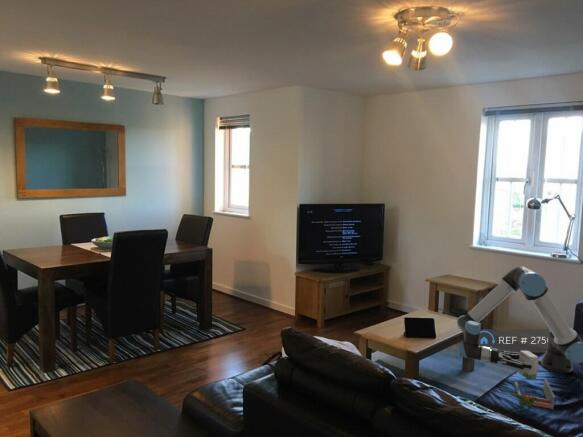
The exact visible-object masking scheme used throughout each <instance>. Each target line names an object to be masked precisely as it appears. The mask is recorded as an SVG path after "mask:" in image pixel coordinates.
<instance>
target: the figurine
mask: <svg viewBox="0 0 583 437" xmlns="http://www.w3.org/2000/svg"><path fill="white" fill-rule="evenodd" d="M522 392H523V393H522V394H519V395H517V394H515V393H509V395H510V396H513V397H515V398H517V399H518V398H519V399H520V403H519V408H521V409H523V408H524V405H526V408H527V409H528V410H529V411H531V408H530V407H531V406H533V405H534V404H535V401H537V402H538V400H537V398H538V397H537V396H535V395H533V394H532V395H530V394H529V395H527V396H525V395H526V394H525V390H524V389H523V390H522ZM528 396H529V397H530V396H532V398H533V397H534V398H533V399H532V400H531V399H530V398H529V397H528ZM536 397H537V398H536ZM519 399H518V400H519ZM534 407H536V406H535V405H534Z"/></svg>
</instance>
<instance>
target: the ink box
mask: <svg viewBox="0 0 583 437" xmlns="http://www.w3.org/2000/svg"><path fill="white" fill-rule="evenodd" d="M519 353H520V356H519V359H518V361H520V362H523V363H525V362H526V363H531V364H537V365H539V356H538V355H536V354H534V353H532V352H531V351H530V350H520V351H519ZM517 373H518V374H520V375H521V376H523V377H524V378H525V379H527V380H537V376H538V375H537V374H538V371H537V370H532V369H527V368H524V370H522V369H518V368H517Z"/></svg>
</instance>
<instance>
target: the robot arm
mask: <svg viewBox="0 0 583 437" xmlns="http://www.w3.org/2000/svg"><path fill="white" fill-rule="evenodd" d="M517 291H521V294H522V295H523V297H524V298H525V299H526V300H527V301H530V302H531V303H532V304H533V306H534V307H535V309H536V310H537V313H538V314H539V315H540V317H541V318H542V320H543V321H544V323H545V325H546V326H547V327H548V329H549V330H548V337H547V341H546V342H547V344H546V351H545V353H544V354H543V357H542V358H541V361H540V364H541V366H542V367H544V368H545V369H547V370H549V371H553V372H556V373H560V374H569V373H572V372H573V368H574V367H573V363H575V364H579V363H583V340H582V338H581V337H580V336H579V334H578V332H577V331H576V330H574V329H573V328H572V327H570V326H569V324H568V323H567V321H566V320H565V318H564V317H563V315H562V314H561V313H560V311H559V309H558V308H557V306H556V305H555V303H554V302H553V299H552V298H551V297H550V295H549V294H548V292H549V288H548V287H547V283H546V280H545V279H544V277H543V276H542V275H541V274H540V273H538V272H536V271H534V270H533V269H531V268H529V267H526V266H517V267H515V268H512V269H511V270H510V271H509V272H507V273H506V274H505V275H504V276H502V277H501V279H500V282H499V283H498V284H497V285H496V286H495V287H494V288H493V289H491V291H489V293H487V294H486V295H485V296H484V297H483V298H482V299H481V300H480V301H479V302H478V303H476V305H474V307H472V308H471V310H469V311H468V312H467V313H466V314H465V315H460V316H458V318H457V320H456V324H457V326H458V329H459V330H460V331H461V333H462V334H463V341H461V342H460V343H459V345H458V346H459V347H458V356H459V357H462V358H466V359H469V360H470V359H471V360H476V361H481V362H483V363H485V362H487V363H491V364H496V365H497V364H499V362H501V365H505V366H508V367H513V368H516V369H517V370H518V369H522V370H524V368H527V369H532V370H537V372H539V371H540V364H538V365H537V364H531V363H526V362H525V363H523V362H520V361H519V356H520V351H518V352H517V351H508V350H503V349H502V350H501V351H500V350H499V348H495V347H490V346H485V345H480V337H481V336H480V335H481V331H482V330H481V324H480V322H481V321H482V320H484V318H485V317H487V316H488V315H489V314H490V313H491V312H492V311H493V310H494V309H495V308H496V307H498V306H499V305H500V304H501V303H502V302H503V301H504V300H505V299H506V298H508V297H509V295H511V294H512V293H516V292H517Z"/></svg>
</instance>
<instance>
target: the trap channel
mask: <svg viewBox="0 0 583 437" xmlns="http://www.w3.org/2000/svg"><path fill="white" fill-rule="evenodd" d="M543 380H544V381H543V388H542V391H543V394H544V396H545V398H542V397H537V396H534V397H536V398H537V400H538V402H537V401H535V404H534V405H535V406H534V407H537V408H539V407H540V408H544V409H550V410H554V406H555V401H556V400H555V399H556V396H555V394H554V392H553V389H552V387H551V386H550V383H549V380H548V379H547V378H544V379H543ZM513 383H514V384H513V386H514V389H515V392H517V393H516V395H519V394H521V390H520V388H519V384H518V381H517V380H516V381H514V382H513ZM521 395H522V394H521ZM525 396H528V397H529V395H526V394H525ZM534 397H533V398H534ZM529 398H530V399H531V400H532V399H533V398H532V396H531V395H530V397H529ZM517 400H518V402H520V399H519V398H517Z"/></svg>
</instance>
